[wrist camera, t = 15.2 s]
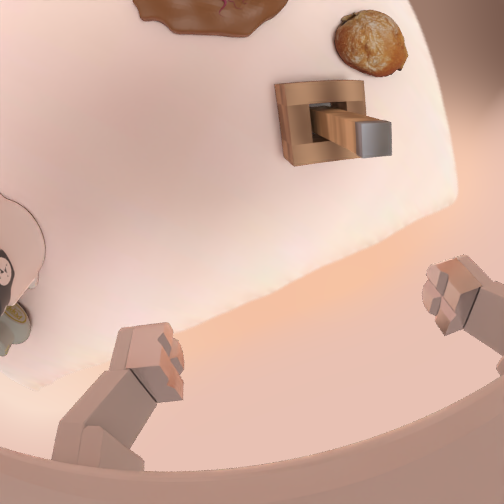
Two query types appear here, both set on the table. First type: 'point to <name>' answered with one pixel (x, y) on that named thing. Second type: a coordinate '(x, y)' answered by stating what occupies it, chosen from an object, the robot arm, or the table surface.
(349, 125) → the upright wooden post
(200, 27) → the plant
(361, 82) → the square wooden socket base
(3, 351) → the air freshener
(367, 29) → the bread roll
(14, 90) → the table surface
